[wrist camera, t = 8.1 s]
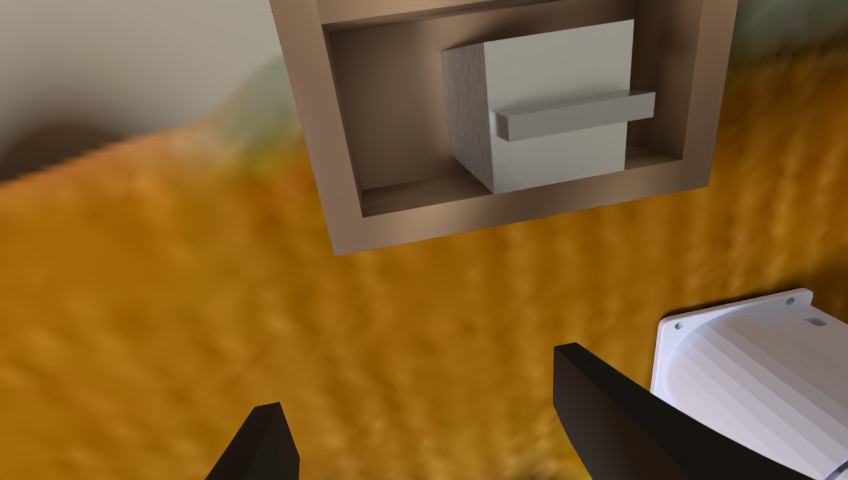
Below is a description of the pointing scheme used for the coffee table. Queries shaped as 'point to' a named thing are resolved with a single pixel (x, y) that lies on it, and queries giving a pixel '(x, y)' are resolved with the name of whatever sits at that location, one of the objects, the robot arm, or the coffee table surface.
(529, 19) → the well block
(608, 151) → the bracket
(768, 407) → the robot arm
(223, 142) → the coffee table surface
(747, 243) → the coffee table surface
